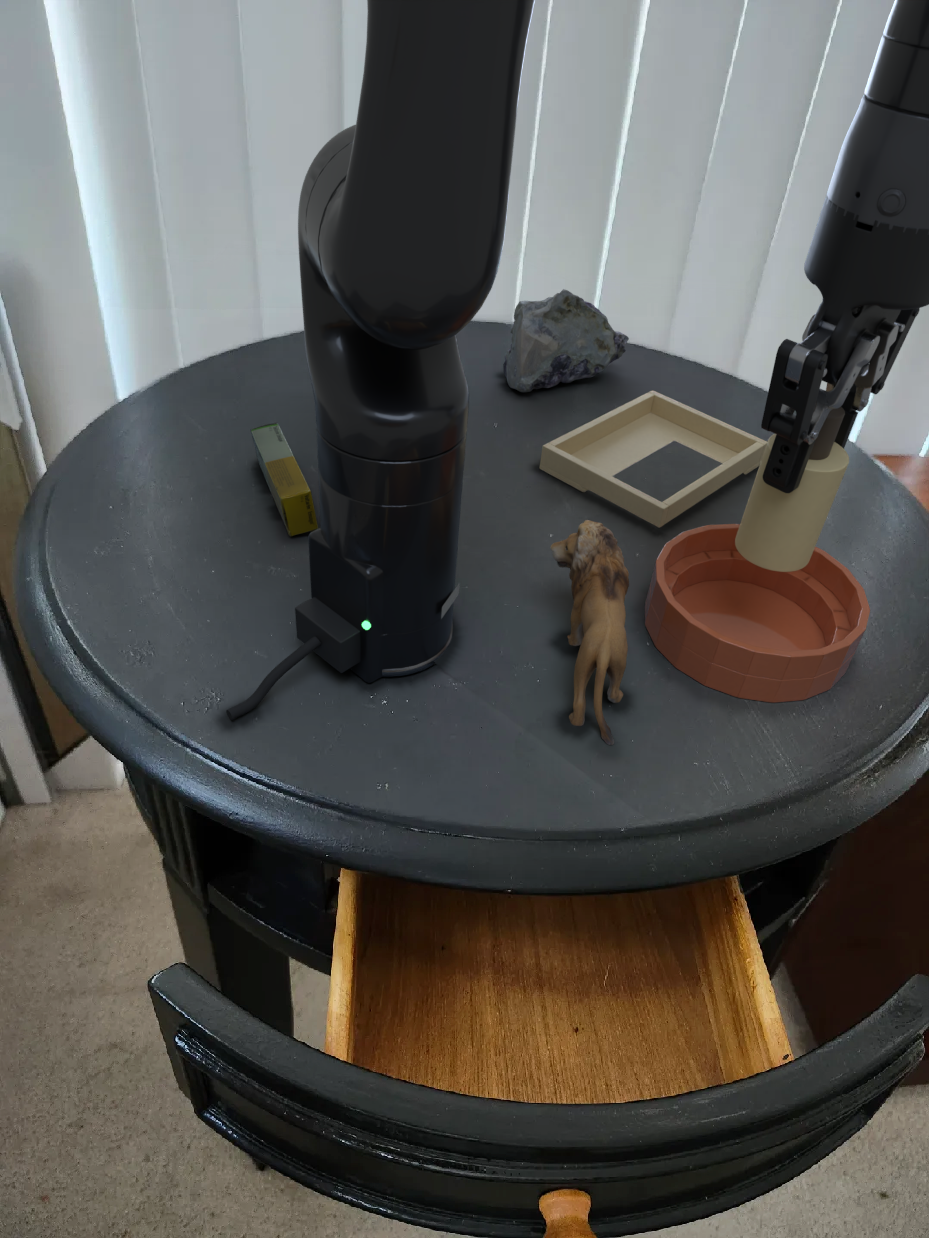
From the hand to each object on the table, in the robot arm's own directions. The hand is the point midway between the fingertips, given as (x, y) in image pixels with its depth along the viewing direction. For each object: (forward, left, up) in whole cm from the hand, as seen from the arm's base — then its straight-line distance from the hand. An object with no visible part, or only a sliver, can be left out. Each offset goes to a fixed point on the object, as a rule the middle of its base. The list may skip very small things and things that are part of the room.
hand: (800, 470), depth 61 cm
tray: (+15, +19, -15) cm, 28 cm away
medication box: (-15, +37, -15) cm, 42 cm away
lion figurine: (-12, +6, -15) cm, 20 cm away
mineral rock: (+22, +36, -15) cm, 45 cm away
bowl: (0, 0, -15) cm, 15 cm away
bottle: (0, 0, -6) cm, 6 cm away
